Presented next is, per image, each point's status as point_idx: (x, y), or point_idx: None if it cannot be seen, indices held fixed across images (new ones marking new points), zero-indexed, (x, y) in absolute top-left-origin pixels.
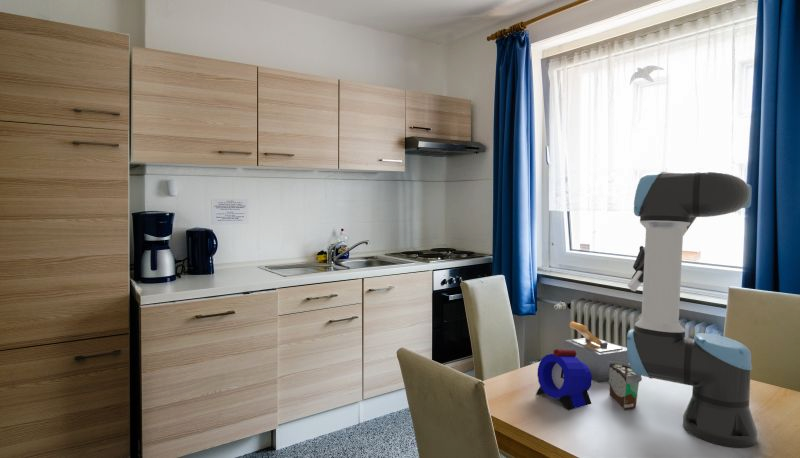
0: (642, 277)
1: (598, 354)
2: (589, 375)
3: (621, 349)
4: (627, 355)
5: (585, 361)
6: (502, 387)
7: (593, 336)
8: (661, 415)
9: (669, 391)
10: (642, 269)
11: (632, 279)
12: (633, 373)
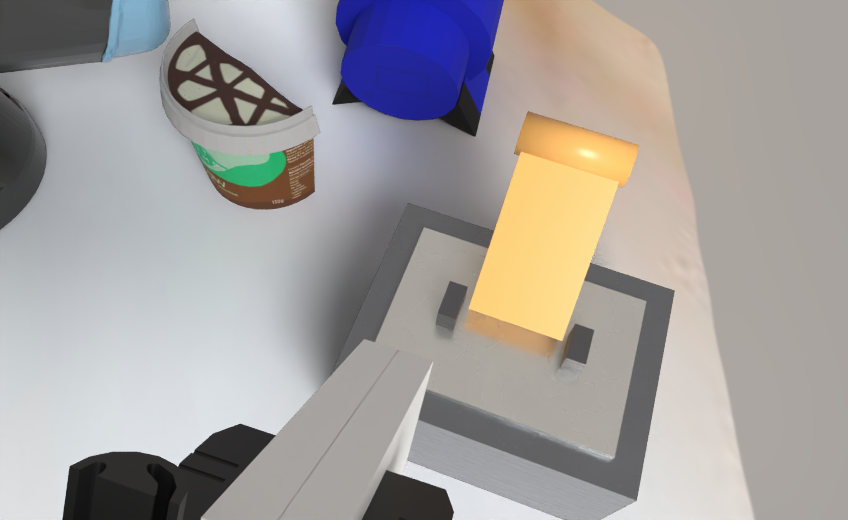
0: (194, 457)
1: (416, 206)
2: (347, 48)
3: None
4: None
5: None
6: (593, 32)
7: (495, 229)
8: (118, 168)
9: (131, 408)
10: (171, 515)
11: (390, 407)
12: (191, 87)
